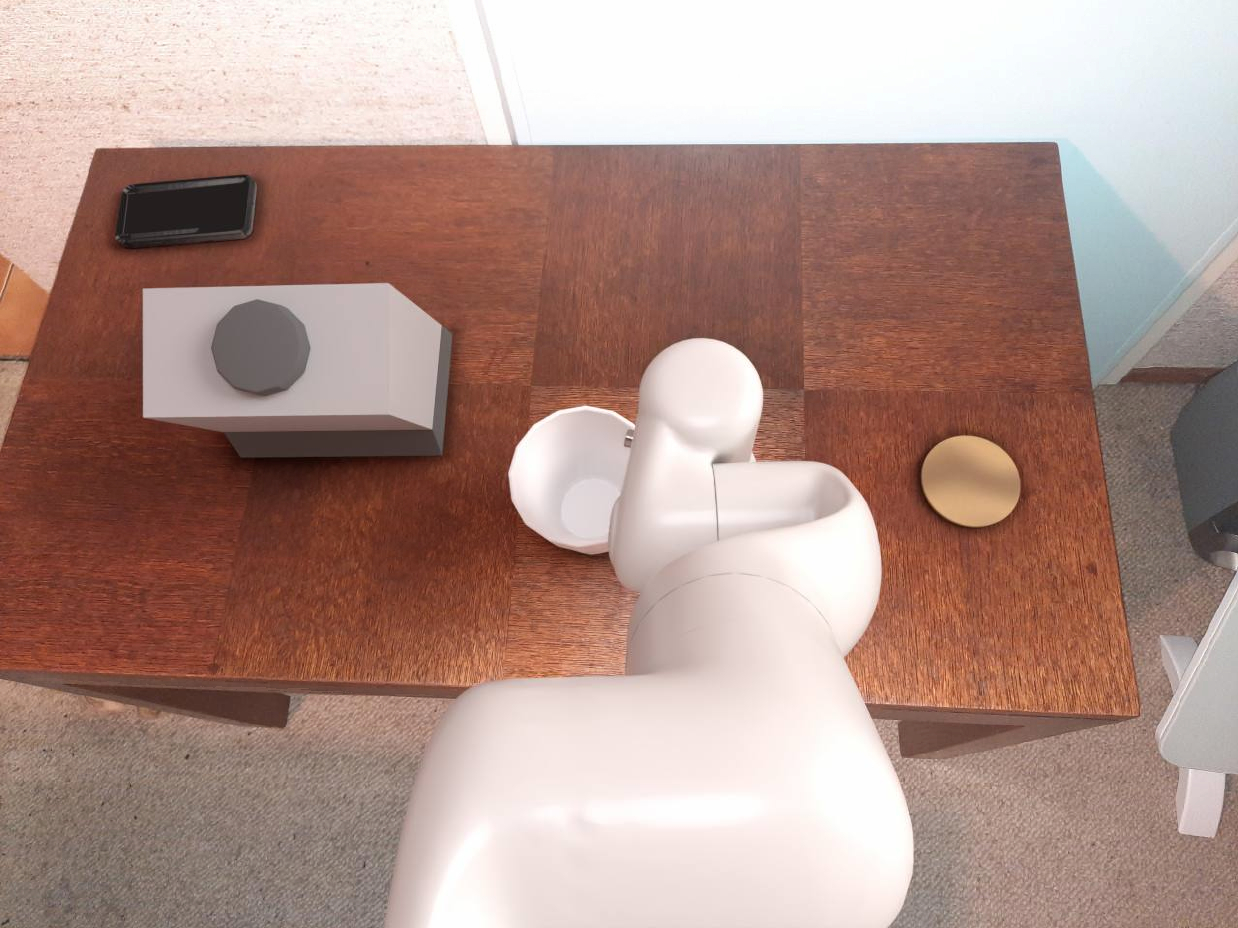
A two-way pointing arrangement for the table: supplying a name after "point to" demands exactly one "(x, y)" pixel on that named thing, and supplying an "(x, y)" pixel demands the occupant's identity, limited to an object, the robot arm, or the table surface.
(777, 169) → the table surface
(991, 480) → the coaster
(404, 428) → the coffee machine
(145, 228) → the phone
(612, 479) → the cup
